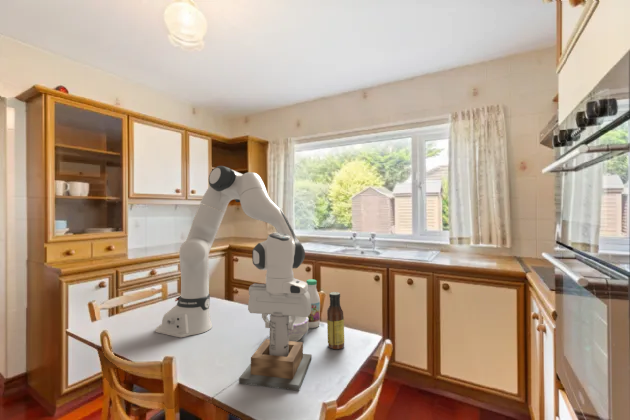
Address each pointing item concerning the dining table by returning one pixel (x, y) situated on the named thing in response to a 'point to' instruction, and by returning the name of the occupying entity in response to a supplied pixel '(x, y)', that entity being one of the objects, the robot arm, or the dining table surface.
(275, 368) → the socket holder
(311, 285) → the milk bottle
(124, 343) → the dining table surface
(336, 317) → the sauce bottle
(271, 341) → the energy drink can
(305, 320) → the paper bowls
